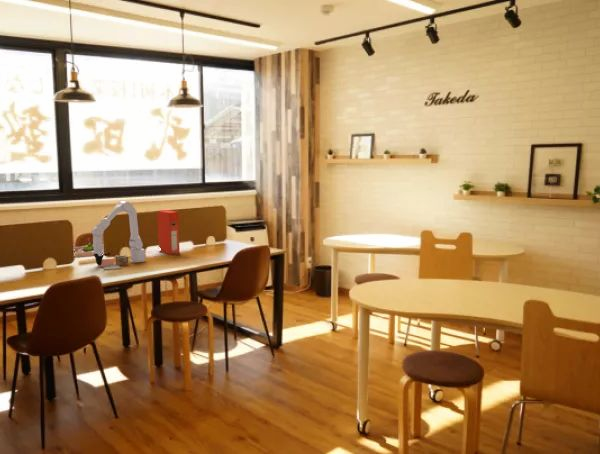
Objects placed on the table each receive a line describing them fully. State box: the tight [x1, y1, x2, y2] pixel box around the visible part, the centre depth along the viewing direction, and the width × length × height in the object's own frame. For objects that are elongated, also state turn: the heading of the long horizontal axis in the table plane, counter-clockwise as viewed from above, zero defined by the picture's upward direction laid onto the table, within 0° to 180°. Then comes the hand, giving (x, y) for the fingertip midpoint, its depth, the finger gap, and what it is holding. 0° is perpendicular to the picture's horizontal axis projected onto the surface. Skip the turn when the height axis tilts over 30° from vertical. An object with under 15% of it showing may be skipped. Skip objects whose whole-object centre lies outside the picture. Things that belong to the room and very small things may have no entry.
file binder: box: [157, 209, 180, 256], centre depth 412 cm, size 8×17×32 cm, turn 44°
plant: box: [75, 237, 94, 253], centre depth 410 cm, size 20×20×11 cm
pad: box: [102, 264, 122, 271], centre depth 360 cm, size 10×10×1 cm
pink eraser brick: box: [97, 257, 115, 268], centre depth 366 cm, size 10×3×5 cm, turn 118°
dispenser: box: [115, 254, 129, 267], centre depth 370 cm, size 7×6×6 cm
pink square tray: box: [73, 245, 103, 258], centre depth 410 cm, size 25×25×3 cm
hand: (98, 264), depth 364 cm, fingers closed on pink eraser brick, 3 cm apart
